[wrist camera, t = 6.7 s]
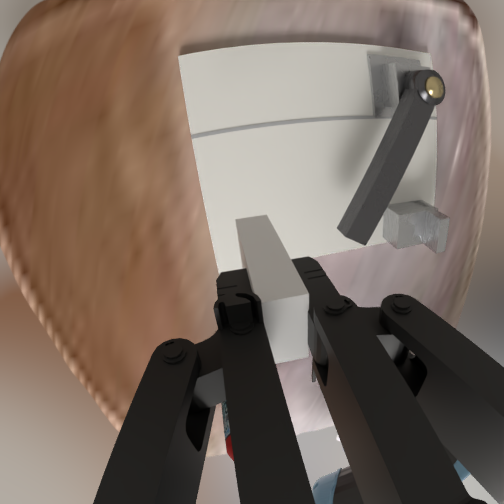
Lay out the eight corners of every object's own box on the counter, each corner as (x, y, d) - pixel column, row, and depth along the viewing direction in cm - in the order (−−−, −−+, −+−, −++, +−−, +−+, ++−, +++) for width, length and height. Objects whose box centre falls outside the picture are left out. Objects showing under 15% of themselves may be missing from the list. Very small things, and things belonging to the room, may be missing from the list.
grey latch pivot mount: (422, 117, 24) (441, 120, 21) (373, 117, 24) (390, 119, 21) (417, 60, 21) (436, 58, 19) (366, 54, 21) (383, 50, 18)
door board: (426, 229, 31) (431, 233, 30) (218, 270, 30) (219, 275, 29) (424, 54, 22) (431, 53, 21) (179, 58, 20) (177, 55, 19)
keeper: (419, 229, 30) (447, 250, 25) (382, 236, 30) (409, 260, 25) (421, 199, 28) (452, 217, 24) (383, 205, 28) (413, 225, 23)
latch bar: (411, 63, 19) (428, 62, 17) (434, 83, 20) (452, 84, 17) (332, 226, 24) (344, 238, 22) (359, 238, 25) (372, 250, 23)
